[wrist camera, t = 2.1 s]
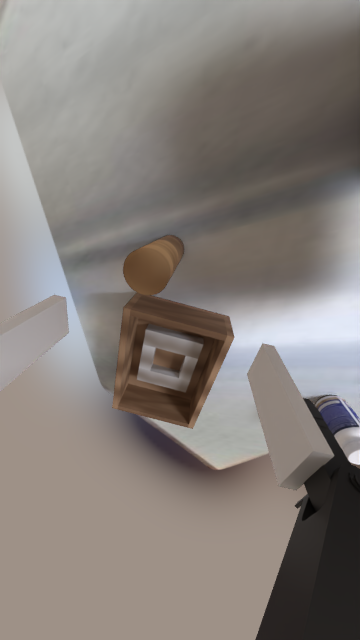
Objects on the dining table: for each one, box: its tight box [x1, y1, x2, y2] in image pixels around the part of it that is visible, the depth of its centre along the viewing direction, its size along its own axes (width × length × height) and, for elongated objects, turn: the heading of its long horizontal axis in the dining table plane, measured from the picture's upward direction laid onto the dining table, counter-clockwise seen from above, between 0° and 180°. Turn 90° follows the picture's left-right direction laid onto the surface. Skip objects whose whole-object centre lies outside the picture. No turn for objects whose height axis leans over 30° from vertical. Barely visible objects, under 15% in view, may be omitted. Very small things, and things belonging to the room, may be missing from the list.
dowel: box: [123, 235, 184, 295], centre depth 23 cm, size 4×4×14 cm
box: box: [112, 292, 234, 429], centre depth 35 cm, size 22×16×6 cm
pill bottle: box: [315, 396, 360, 465], centre depth 35 cm, size 6×6×10 cm
